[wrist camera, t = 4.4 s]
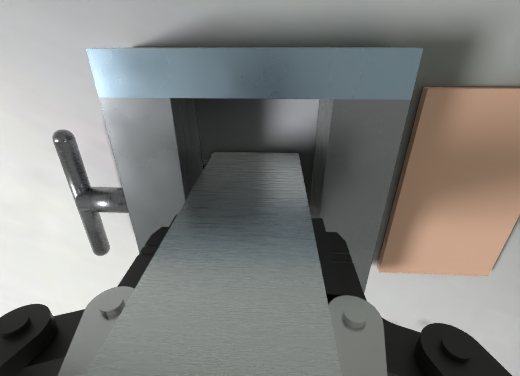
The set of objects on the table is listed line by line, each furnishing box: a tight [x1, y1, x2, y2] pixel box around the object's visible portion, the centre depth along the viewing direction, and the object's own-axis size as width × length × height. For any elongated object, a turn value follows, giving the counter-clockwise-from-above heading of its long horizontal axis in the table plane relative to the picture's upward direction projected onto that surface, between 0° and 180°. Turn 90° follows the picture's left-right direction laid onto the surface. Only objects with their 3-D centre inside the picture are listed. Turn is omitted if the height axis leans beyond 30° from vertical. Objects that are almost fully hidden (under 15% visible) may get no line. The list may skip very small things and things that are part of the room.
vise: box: [53, 47, 423, 292], centre depth 13 cm, size 12×14×3 cm
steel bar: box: [85, 152, 342, 376], centre depth 9 cm, size 4×4×12 cm
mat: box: [377, 87, 520, 276], centre depth 14 cm, size 10×6×1 cm, turn 0°
